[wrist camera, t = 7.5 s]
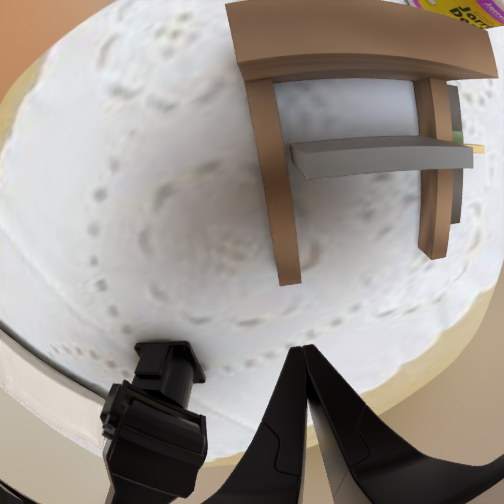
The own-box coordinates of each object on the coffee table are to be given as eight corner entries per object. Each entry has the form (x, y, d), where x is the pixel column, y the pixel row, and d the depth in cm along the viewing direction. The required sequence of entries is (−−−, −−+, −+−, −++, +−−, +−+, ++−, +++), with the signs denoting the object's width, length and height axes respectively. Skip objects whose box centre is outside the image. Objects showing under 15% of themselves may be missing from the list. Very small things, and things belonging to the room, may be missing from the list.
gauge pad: (466, 152, 16) (516, 169, 10) (292, 161, 17) (307, 179, 12) (466, 137, 15) (516, 151, 10) (289, 144, 17) (304, 154, 11)
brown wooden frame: (454, 240, 20) (505, 286, 13) (277, 269, 22) (285, 340, 15) (447, 53, 13) (512, 43, 6) (238, 49, 15) (224, 4, 8)
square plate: (10, 379, 38) (3, 390, 35) (-12, 304, 27) (-24, 318, 24) (105, 439, 44) (101, 452, 40) (121, 394, 33) (113, 415, 29)
